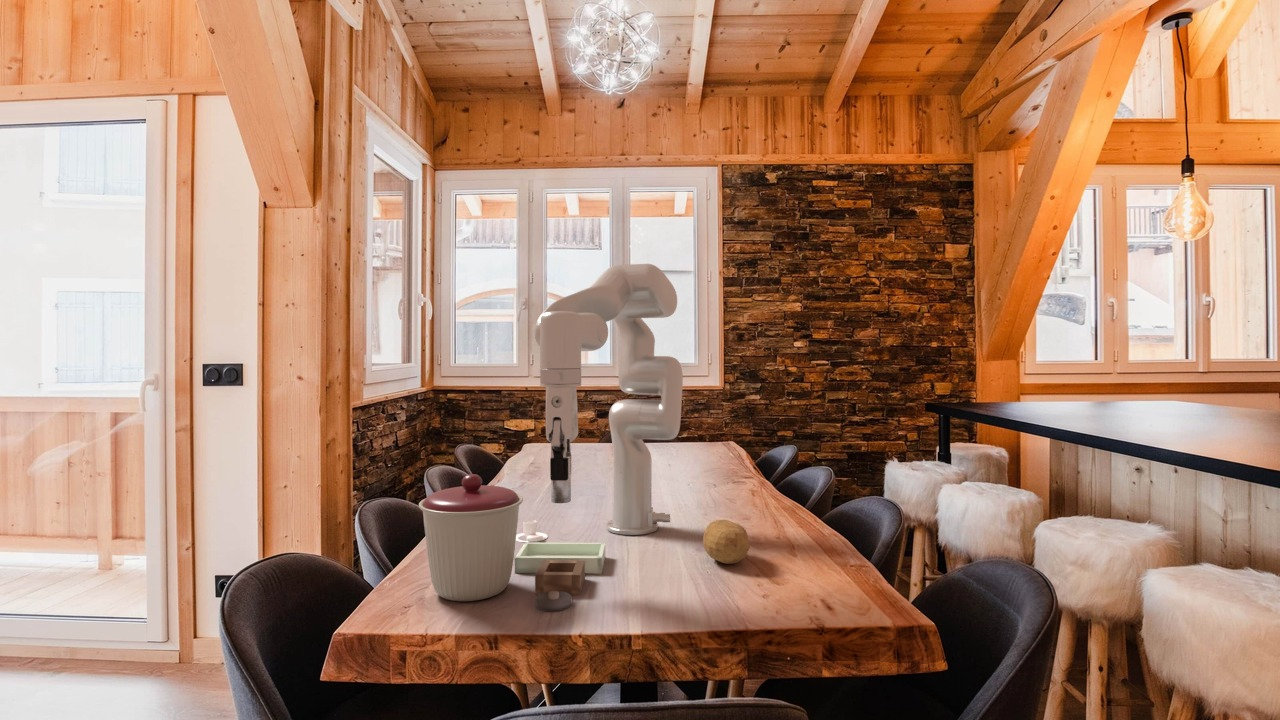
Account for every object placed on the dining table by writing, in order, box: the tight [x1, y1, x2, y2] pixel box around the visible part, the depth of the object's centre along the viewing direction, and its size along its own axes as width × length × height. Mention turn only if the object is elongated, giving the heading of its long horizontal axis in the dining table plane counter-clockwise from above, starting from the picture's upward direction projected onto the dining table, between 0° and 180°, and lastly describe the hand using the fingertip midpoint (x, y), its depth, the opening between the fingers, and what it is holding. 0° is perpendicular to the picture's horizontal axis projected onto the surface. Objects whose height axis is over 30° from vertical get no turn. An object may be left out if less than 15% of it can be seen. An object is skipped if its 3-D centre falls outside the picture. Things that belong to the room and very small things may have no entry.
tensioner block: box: [534, 560, 586, 613], centre depth 113 cm, size 8×16×4 cm, turn 179°
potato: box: [702, 519, 751, 565], centre depth 131 cm, size 10×14×8 cm
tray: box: [514, 542, 606, 574], centre depth 129 cm, size 17×10×3 cm, turn 89°
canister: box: [418, 473, 524, 602], centre depth 114 cm, size 18×18×21 cm
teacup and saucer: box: [516, 519, 549, 543], centre depth 148 cm, size 9×8×4 cm
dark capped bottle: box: [550, 451, 572, 504], centre depth 117 cm, size 4×4×9 cm
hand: (561, 476), depth 117 cm, fingers closed on dark capped bottle, 3 cm apart
